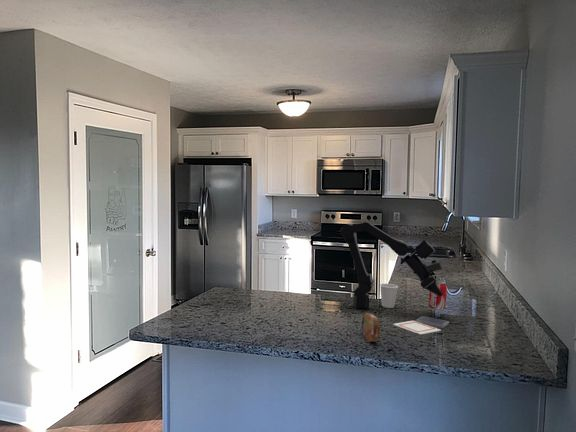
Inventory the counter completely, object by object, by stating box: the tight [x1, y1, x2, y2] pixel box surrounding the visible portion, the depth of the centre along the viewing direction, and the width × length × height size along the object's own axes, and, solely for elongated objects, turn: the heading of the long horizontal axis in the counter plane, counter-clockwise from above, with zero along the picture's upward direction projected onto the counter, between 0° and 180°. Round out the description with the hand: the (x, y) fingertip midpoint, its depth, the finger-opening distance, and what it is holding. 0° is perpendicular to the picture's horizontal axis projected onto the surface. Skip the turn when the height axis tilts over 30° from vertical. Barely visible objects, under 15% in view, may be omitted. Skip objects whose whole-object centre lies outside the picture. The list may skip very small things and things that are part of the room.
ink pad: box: [415, 315, 450, 329], centre depth 187 cm, size 11×8×1 cm
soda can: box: [428, 279, 448, 311], centre depth 196 cm, size 7×7×12 cm
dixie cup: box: [379, 283, 399, 309], centre depth 212 cm, size 8×8×10 cm
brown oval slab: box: [361, 312, 381, 343], centre depth 163 cm, size 15×3×8 cm, turn 5°
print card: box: [392, 320, 442, 335], centre depth 180 cm, size 14×12×1 cm
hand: (441, 294), depth 195 cm, fingers closed on soda can, 7 cm apart
